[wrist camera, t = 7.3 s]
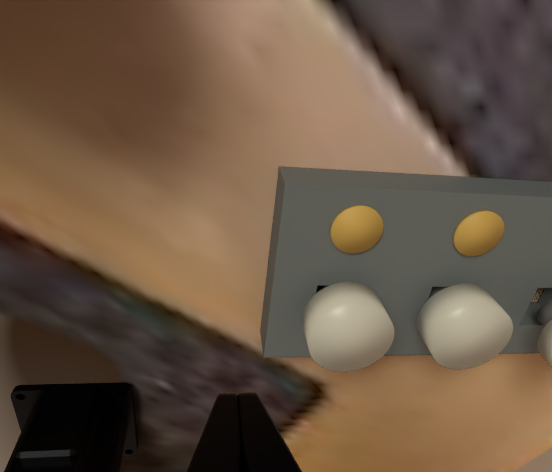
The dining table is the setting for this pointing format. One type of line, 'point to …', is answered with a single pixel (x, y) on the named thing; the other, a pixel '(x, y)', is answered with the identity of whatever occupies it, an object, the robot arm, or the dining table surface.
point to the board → (406, 248)
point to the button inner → (346, 327)
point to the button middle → (463, 326)
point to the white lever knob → (545, 331)
